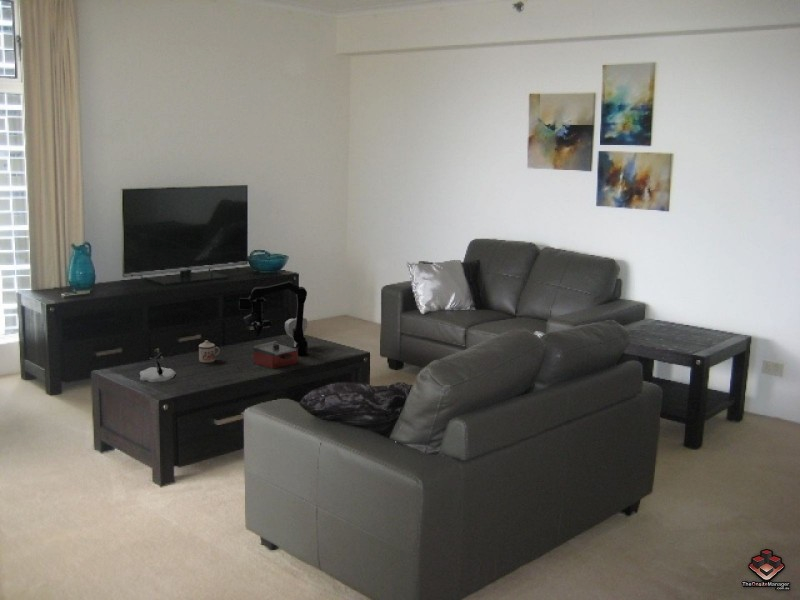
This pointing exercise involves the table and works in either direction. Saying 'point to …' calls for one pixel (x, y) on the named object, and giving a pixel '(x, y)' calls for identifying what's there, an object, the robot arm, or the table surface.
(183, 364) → the table surface
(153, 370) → the figurine
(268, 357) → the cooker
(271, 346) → the lid
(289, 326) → the heart sculpture
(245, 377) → the table surface
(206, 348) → the teacup with lid
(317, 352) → the table surface
